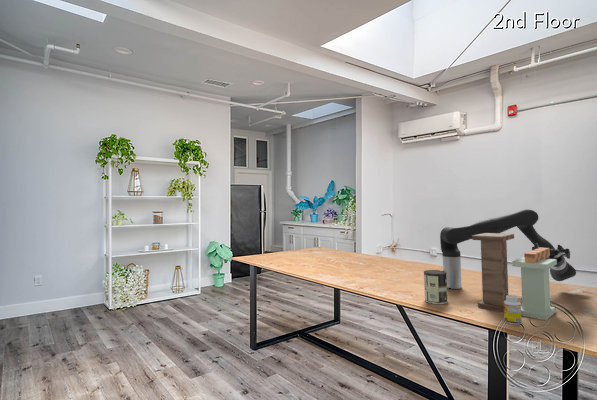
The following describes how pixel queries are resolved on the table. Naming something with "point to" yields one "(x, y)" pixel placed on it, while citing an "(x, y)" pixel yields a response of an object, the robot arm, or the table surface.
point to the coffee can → (435, 286)
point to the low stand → (535, 288)
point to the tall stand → (494, 269)
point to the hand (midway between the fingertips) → (547, 245)
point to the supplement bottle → (512, 310)
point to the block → (537, 255)
